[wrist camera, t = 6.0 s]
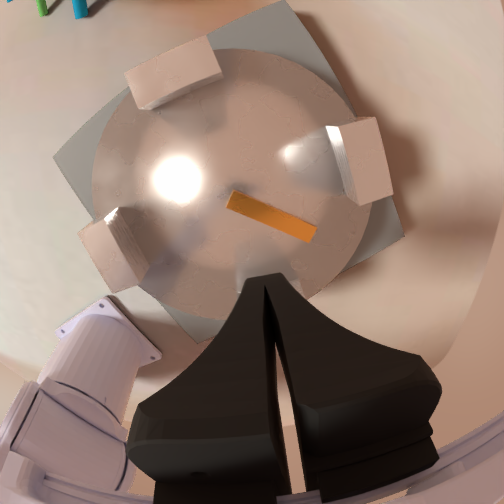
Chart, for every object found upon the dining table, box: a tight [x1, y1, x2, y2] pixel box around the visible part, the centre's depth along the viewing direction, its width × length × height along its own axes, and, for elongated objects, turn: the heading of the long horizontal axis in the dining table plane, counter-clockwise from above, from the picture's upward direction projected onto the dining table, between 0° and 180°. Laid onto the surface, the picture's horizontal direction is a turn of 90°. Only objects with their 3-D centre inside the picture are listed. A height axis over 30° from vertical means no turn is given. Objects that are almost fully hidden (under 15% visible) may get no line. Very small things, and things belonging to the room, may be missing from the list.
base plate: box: [53, 0, 405, 344], centre depth 18 cm, size 18×18×2 cm
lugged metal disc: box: [77, 35, 393, 320], centre depth 15 cm, size 16×16×4 cm
